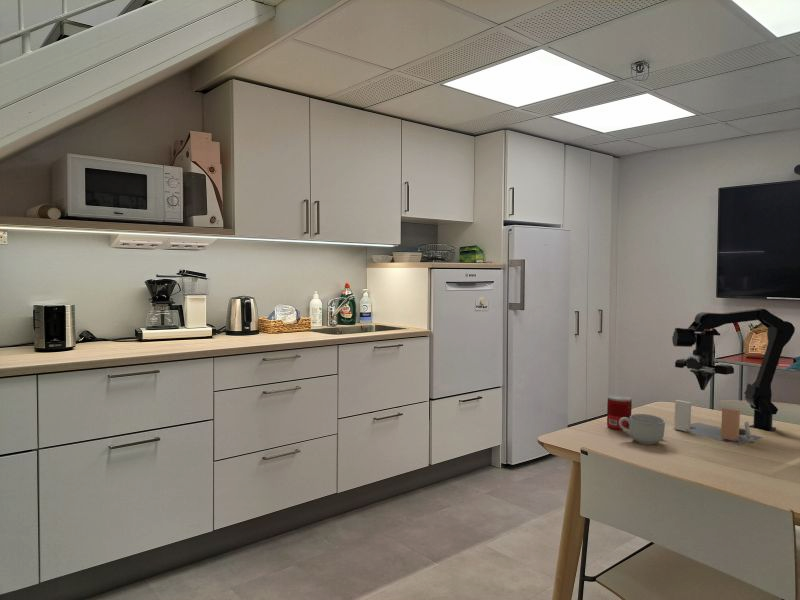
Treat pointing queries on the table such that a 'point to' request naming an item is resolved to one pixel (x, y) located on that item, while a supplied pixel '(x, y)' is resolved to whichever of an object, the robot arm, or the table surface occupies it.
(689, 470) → the table surface
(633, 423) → the teacup
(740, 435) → the panel
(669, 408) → the table surface
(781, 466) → the table surface
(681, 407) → the cream paddle
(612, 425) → the canned food
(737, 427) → the tan rectangular block
